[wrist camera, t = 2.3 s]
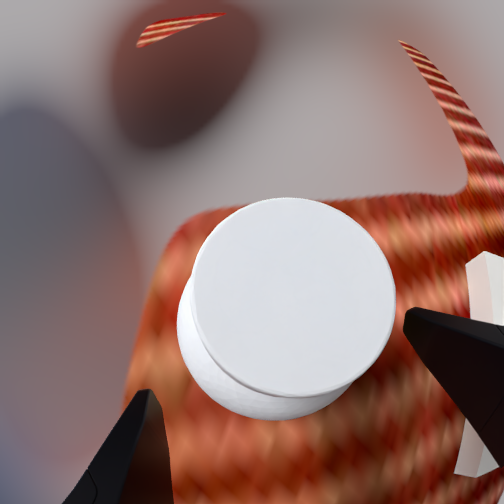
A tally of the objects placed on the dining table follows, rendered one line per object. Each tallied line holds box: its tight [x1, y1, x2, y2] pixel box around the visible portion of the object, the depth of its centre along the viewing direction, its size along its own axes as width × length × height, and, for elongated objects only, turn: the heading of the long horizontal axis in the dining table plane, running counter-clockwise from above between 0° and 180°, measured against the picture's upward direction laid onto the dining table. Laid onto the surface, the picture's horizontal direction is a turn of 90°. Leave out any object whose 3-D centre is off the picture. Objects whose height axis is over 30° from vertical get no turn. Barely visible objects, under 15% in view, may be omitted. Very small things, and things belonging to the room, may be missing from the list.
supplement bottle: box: [177, 198, 396, 420], centre depth 11 cm, size 7×7×13 cm
